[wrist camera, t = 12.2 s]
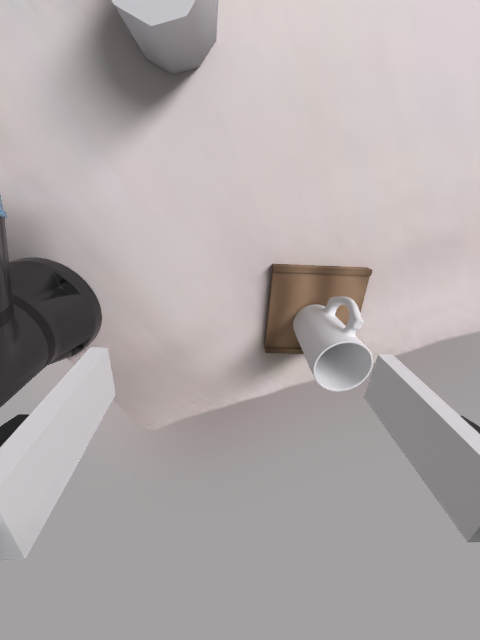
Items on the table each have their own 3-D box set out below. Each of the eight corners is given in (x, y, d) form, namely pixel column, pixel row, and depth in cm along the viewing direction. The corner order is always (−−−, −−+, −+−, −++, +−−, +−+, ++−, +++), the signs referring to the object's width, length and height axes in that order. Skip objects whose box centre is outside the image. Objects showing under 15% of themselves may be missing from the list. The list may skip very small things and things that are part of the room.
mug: (323, 346, 42) (355, 396, 31) (284, 336, 41) (304, 384, 30) (351, 288, 38) (400, 323, 27) (309, 276, 37) (342, 306, 26)
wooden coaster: (264, 347, 43) (265, 352, 42) (272, 263, 37) (274, 266, 36) (346, 350, 44) (350, 354, 42) (367, 267, 38) (372, 270, 37)
